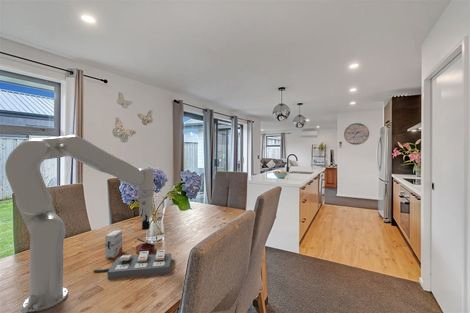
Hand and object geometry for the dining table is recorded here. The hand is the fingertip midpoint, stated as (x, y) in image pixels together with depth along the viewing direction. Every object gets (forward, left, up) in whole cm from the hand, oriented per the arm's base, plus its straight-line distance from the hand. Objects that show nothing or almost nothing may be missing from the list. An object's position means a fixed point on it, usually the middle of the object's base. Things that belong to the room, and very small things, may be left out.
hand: (145, 229), depth 109 cm
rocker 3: (-2, -8, -13) cm, 15 cm away
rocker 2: (-2, 0, -13) cm, 13 cm away
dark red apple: (+15, +2, -18) cm, 23 cm away
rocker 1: (-2, +8, -13) cm, 15 cm away
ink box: (+14, +18, -18) cm, 29 cm away
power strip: (-4, +4, -17) cm, 18 cm away
